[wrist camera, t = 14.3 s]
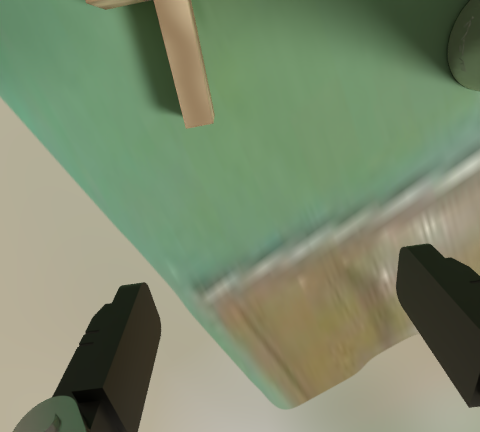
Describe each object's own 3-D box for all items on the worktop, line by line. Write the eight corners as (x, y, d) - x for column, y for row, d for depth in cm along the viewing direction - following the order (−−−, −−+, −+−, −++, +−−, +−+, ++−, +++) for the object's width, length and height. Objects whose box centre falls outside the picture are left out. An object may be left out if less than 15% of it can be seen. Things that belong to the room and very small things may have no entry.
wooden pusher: (242, -50, 26) (245, -68, 22) (263, 104, 31) (268, 112, 27) (97, -19, 26) (74, -31, 22) (143, 127, 32) (131, 138, 28)
